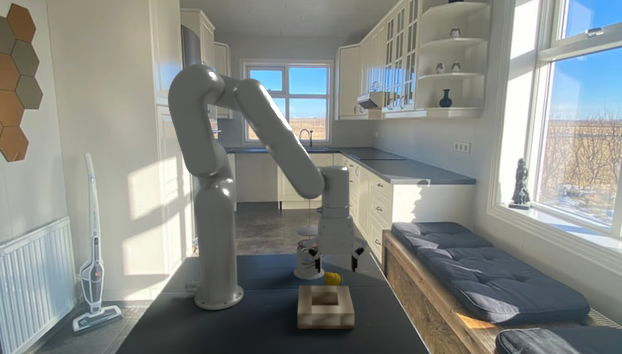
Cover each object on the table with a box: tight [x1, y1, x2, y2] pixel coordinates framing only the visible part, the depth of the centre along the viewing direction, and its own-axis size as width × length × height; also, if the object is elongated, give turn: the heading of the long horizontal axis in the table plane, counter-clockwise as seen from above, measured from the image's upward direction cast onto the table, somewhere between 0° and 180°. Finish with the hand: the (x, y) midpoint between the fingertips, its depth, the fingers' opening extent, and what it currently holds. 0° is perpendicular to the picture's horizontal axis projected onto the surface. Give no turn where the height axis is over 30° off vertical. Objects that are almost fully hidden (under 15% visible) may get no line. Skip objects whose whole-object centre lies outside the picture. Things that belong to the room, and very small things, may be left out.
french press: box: [293, 199, 326, 280], centre depth 103 cm, size 10×12×25 cm
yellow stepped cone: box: [323, 271, 344, 286], centre depth 93 cm, size 5×5×10 cm
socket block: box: [297, 285, 356, 330], centre depth 82 cm, size 13×13×4 cm
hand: (336, 270), depth 92 cm, fingers open, 9 cm apart
